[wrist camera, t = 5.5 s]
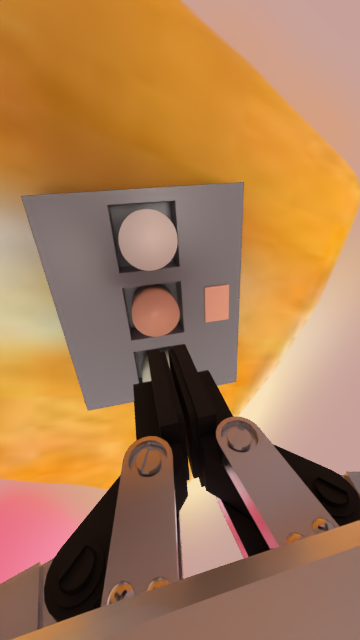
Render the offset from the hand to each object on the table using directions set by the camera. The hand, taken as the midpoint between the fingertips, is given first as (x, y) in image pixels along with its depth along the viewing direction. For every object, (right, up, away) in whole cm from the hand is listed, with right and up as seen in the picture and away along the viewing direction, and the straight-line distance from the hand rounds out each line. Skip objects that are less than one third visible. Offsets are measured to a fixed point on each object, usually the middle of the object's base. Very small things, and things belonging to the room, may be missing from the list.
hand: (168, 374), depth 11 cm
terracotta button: (-2, +4, +10) cm, 11 cm away
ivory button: (-2, +8, +6) cm, 11 cm away
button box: (-2, +4, +11) cm, 12 cm away
